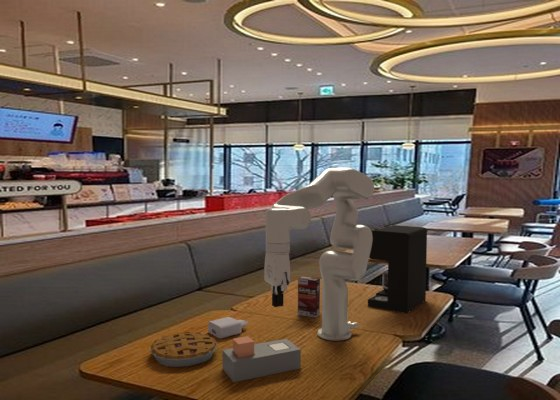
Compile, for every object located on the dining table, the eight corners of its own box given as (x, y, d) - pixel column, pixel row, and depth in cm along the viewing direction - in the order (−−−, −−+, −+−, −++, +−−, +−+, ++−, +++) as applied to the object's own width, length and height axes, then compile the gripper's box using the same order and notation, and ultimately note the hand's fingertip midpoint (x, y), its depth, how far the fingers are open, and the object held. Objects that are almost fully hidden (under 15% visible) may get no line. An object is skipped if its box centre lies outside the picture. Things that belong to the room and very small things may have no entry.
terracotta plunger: (248, 355, 142) (248, 336, 142) (254, 361, 138) (254, 341, 138) (232, 357, 140) (232, 338, 140) (238, 364, 136) (238, 344, 135)
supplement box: (297, 315, 194) (297, 278, 193) (301, 312, 199) (301, 276, 198) (316, 317, 191) (316, 280, 190) (320, 314, 195) (320, 277, 194)
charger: (254, 330, 176) (220, 339, 167) (240, 324, 183) (208, 332, 174) (254, 318, 176) (220, 327, 166) (240, 312, 183) (207, 320, 174)
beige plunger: (282, 360, 148) (282, 342, 147) (289, 366, 143) (289, 347, 143) (268, 363, 146) (268, 345, 145) (275, 369, 141) (275, 350, 141)
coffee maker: (390, 292, 231) (391, 223, 228) (429, 298, 219) (430, 226, 217) (366, 305, 208) (367, 229, 206) (408, 313, 197) (409, 232, 194)
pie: (155, 374, 138) (155, 358, 138) (146, 348, 158) (145, 334, 158) (225, 362, 147) (225, 347, 147) (208, 339, 167) (207, 326, 167)
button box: (286, 356, 151) (286, 338, 151) (300, 368, 142) (300, 349, 142) (222, 368, 142) (222, 350, 141) (233, 382, 133) (233, 362, 132)
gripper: (257, 245, 147) (257, 301, 148) (277, 252, 134) (277, 314, 135) (278, 243, 150) (278, 298, 151) (299, 250, 137) (299, 311, 138)
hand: (277, 305), depth 143 cm, fingers closed
